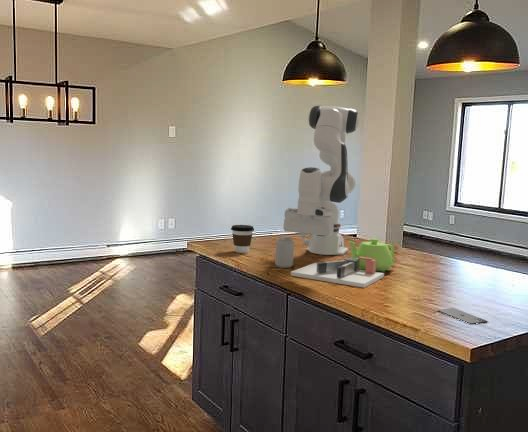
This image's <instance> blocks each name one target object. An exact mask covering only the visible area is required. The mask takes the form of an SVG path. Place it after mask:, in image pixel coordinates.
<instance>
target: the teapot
mask: <svg viewBox="0 0 528 432" xmlns="http://www.w3.org/2000/svg"><path fill="white" fill-rule="evenodd" d="M347 241H348V243H349V244H350V256H351V258H358V257H367V258H373V260H376V271H375V272H380V273H386V271H388V270H390V269H391V267H392V266H393V264H394V263H395V260H396V259H395V258H394V254H395V247H394V245H392V244H388V243H387V244H386V243H384V242H379V239H378V238H370V241H362V242H361V243H360V244H359V246H358V247H357V248H356V243H355V242H354V241H351V240H347ZM390 249H391V251H390ZM359 269H360V270H366V260H363V259H360V267H359Z"/></svg>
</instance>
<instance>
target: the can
mask: <svg viewBox="0 0 528 432" xmlns="http://www.w3.org/2000/svg"><path fill="white" fill-rule="evenodd" d="M294 248H295V242H294V240H293V238H292V237H284V236H282V237H278V238H277V240H276V242H275V254H274V255H275V257H274V258H275V259H274V260H275V261H274V265H275V266H276V267H277V268H281V269H289V268H291V267H292V266H294V250H295V249H294Z"/></svg>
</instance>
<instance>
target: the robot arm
mask: <svg viewBox="0 0 528 432" xmlns="http://www.w3.org/2000/svg"><path fill="white" fill-rule="evenodd" d="M307 119H308V125H309V127H311V129H314V134H313V144H314V146H315V148H316V149H317V150H318V151H319V154H318V155H319V159H320V160H321V162H323V163H324V164H325V165H327V166H329V167H330V170H321V169H320V168H317V167H312V166H311V167H304V168H302V169H301V170H300V174H299V179H298V189H297V190H298V199H297V208H292V207H288V208H286V210H285V211H284V219H283V226H282V227H283V231H284V232H286V233H287V232H288V233H298V234H300V238H301V240H302V245H303V246H308V247H306V251H308V252H310V253H311V254H316V255H317V254H318V255H325V256H333V255H334V256H335V255H336V256H337V255H338V256H344V255H345V254H346V253H347V252H348V251H349V248H348V247H345V246H344V245H345V243H344V242H345V239H344V237H343V236H342V234H341V233H340V232H339V231H340V229H341V227H342V226H341V225H342V224H341V223H339V207H338V206H337V204H335V203H338V204H340V203H342V202H344V201H345V200H347V198H348V197H349V194H351V193H352V192H353V191H354V189H355V187H356V178H355V176H354V175H353V174H352V172H350V171H349V169H348V151H347V146H346V134H347V135H348V134H350V133H353V132H356V131H357V128H358V126H359V124H360V116H359V113H358V111H357V109H353V108H351V107H350V108H346V107H342V106H334V105H333V106H331V105H314V106H313V107H311V109H310V111H309V112H308V117H307ZM307 235H308V237H309V239H308V240H307V237H306V236H307Z"/></svg>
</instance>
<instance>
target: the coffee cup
mask: <svg viewBox="0 0 528 432" xmlns="http://www.w3.org/2000/svg"><path fill="white" fill-rule="evenodd" d="M231 230H232V243H233V246H234V251H235V252H236V253H239V254H247V253H249V251H250V248H251V247H250V246H251V243H252V237H253V231H255V228H254V225H249V224H234V225H233V224H232V225H231V228H230V231H231Z"/></svg>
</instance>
